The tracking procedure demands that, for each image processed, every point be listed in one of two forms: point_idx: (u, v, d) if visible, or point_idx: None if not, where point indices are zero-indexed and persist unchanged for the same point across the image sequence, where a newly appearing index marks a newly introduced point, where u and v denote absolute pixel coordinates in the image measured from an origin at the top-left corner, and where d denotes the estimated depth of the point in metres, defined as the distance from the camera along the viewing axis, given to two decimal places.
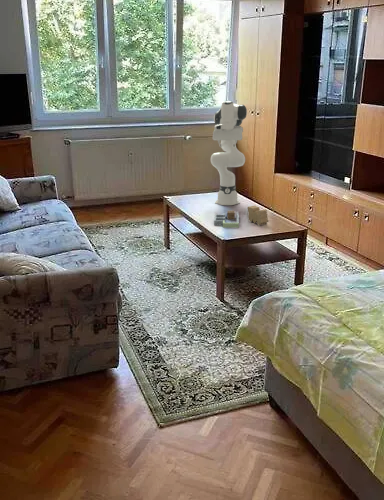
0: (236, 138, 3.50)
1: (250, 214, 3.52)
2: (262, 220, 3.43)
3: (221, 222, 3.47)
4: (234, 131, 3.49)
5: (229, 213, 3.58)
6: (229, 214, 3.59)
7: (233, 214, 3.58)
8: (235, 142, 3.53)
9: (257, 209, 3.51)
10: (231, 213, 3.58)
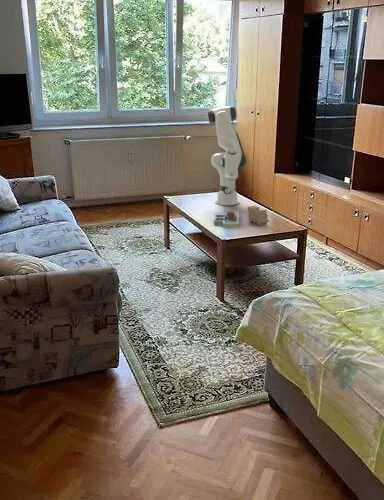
0: None
1: (250, 214, 3.52)
2: (262, 220, 3.43)
3: (221, 222, 3.47)
4: None
5: (229, 213, 3.58)
6: (229, 214, 3.59)
7: (233, 214, 3.58)
8: None
9: (257, 209, 3.51)
10: (231, 213, 3.58)
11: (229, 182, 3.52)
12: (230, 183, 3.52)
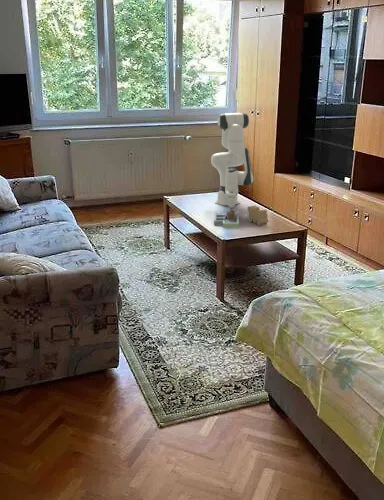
0: None
1: (250, 214, 3.52)
2: (262, 220, 3.43)
3: (221, 222, 3.47)
4: None
5: (229, 213, 3.58)
6: (229, 214, 3.59)
7: (233, 214, 3.58)
8: None
9: (257, 209, 3.51)
10: (231, 213, 3.58)
11: (229, 199, 3.56)
12: (230, 200, 3.56)
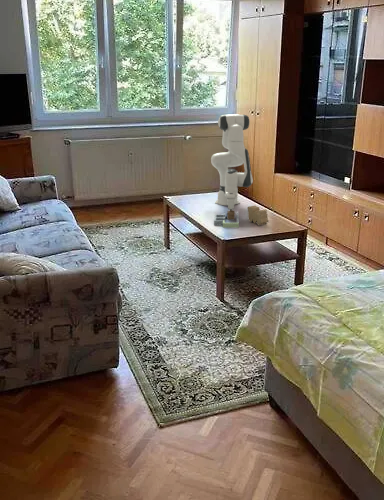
0: None
1: (250, 214, 3.52)
2: (262, 220, 3.43)
3: (221, 222, 3.47)
4: None
5: (229, 213, 3.58)
6: (229, 214, 3.59)
7: (233, 214, 3.58)
8: None
9: (257, 209, 3.51)
10: (231, 213, 3.58)
11: (229, 201, 3.53)
12: (230, 201, 3.52)
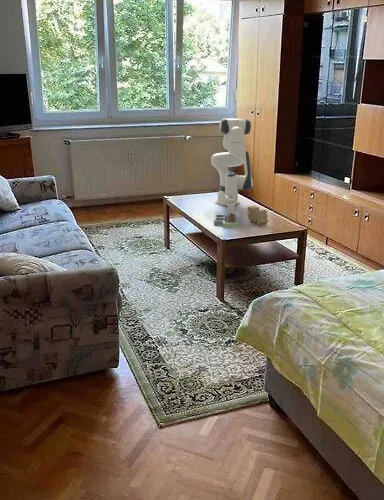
0: None
1: (250, 214, 3.52)
2: (262, 220, 3.43)
3: (221, 222, 3.47)
4: None
5: (229, 217, 3.49)
6: (229, 218, 3.50)
7: (233, 218, 3.49)
8: None
9: (257, 209, 3.51)
10: (231, 217, 3.49)
11: (229, 205, 3.43)
12: (230, 205, 3.43)
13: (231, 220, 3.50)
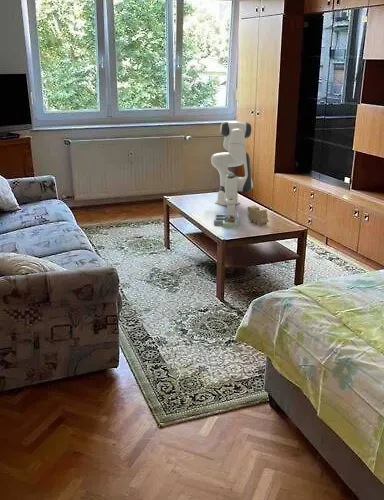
0: None
1: (250, 214, 3.52)
2: (262, 220, 3.43)
3: (221, 222, 3.47)
4: None
5: (229, 219, 3.45)
6: (229, 220, 3.45)
7: (233, 220, 3.45)
8: None
9: (257, 209, 3.51)
10: (231, 219, 3.45)
11: (229, 207, 3.39)
12: (230, 207, 3.39)
13: (231, 222, 3.45)
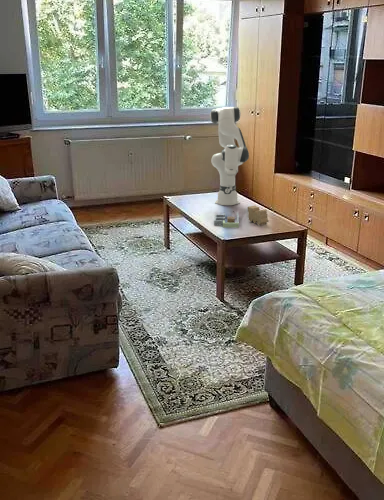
0: None
1: (250, 214, 3.52)
2: (262, 220, 3.43)
3: (221, 222, 3.47)
4: None
5: (229, 219, 3.45)
6: (229, 220, 3.45)
7: (233, 220, 3.45)
8: None
9: (257, 209, 3.51)
10: (231, 219, 3.45)
11: (229, 177, 3.39)
12: (230, 178, 3.39)
13: (231, 222, 3.45)
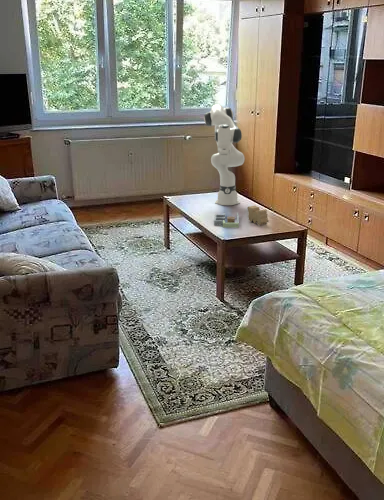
0: None
1: (250, 214, 3.52)
2: (262, 220, 3.43)
3: (221, 222, 3.47)
4: None
5: (229, 219, 3.45)
6: (229, 220, 3.45)
7: (233, 220, 3.45)
8: None
9: (257, 209, 3.51)
10: (231, 219, 3.45)
11: (222, 156, 3.42)
12: (222, 157, 3.42)
13: (231, 222, 3.45)
